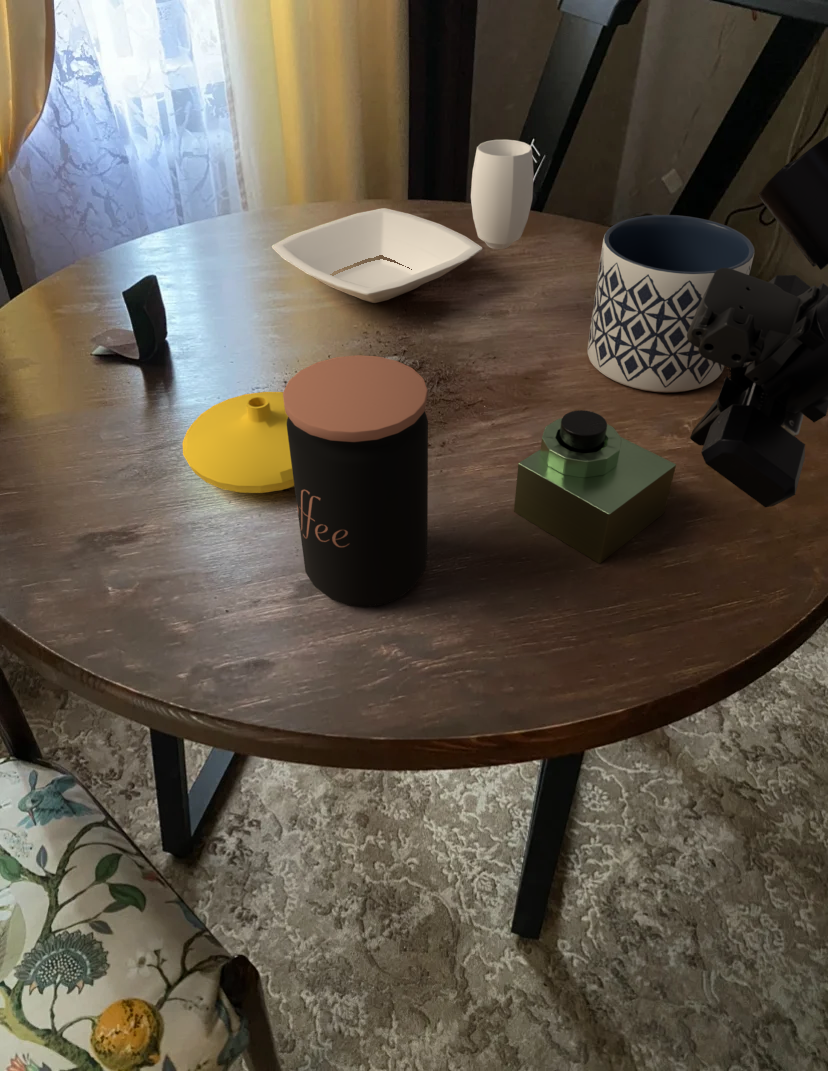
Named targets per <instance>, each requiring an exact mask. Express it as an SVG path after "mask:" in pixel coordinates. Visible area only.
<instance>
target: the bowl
mask: <svg viewBox="0 0 828 1071" xmlns="http://www.w3.org/2000/svg"><path fill="white" fill-rule="evenodd" d="M271 247H272V249H273V250H274V251H275V252H276V253H277V254H278V255H279V257H281V258H282V259H283V260H285V261H286V262H288V263H289V264H291V265H292V266H293V267H296V268H297V269H299V270H300V271H302V272H303V273H305V274H307V275H308V276H310V277H312V278H314V279H315V280H317V281H318V282H321V283H322V284H324V285H326V286H327V287H330V288H332V289H335V290H338V291H339V292H342V293H344V294H347V295H349V296H352V297H355V298H358V299H360V300H362V301H366V302H369V303H372V304H376V303H381V302H386V301H389V300H392V299H395V298H396V297H399V296H401V295H403V294H407V293H408V292H411V291H414V290H415V289H418V288H419V287H420V286H422V285H424V284H427V283H429V282H432V281H433V280H437V279H438V278H441V277H442V276H444V275H446V274H447V273H449V272H451V271H453V270H454V269H456V268H457V267H459V266H460V265H462V264H464V263H465V262H467V261H468V260H470V259H471V258H473V257H474V256H475V255H478V253H480V252H481V251H483V247H482V246H481V245H479V244H478V243H476V242H475V241H473V240H472V239H470V238H469V237H467V236H466V235H464V234H462V233H459V232H457V231H456V230H453V229H451V228H450V227H447V226H445V225H443V224H442V223H441V224H440V223H438V222H435V221H432V220H429V219H426V218H423V217H421V216H417V215H414V214H411V213H407V212H403V211H399V210H394V209H390V208H386V207H382V208H377V209H372V210H367V211H361V212H357V213H354V214H351V215H348V216H347V215H346V216H344V217H340V218H338V219H335V220H332V221H329V222H326V223H322V224H320V225H316V226H314V227H310V228H308V229H305V230H302V231H299V232H297V233H293V234H291V235H289V236H287V237H285V238H283V239H282V240H279V241H277V242H276V243H274V244H273V245H271ZM379 255H383V256H384V257H387V258H390V259H392V260H395V261H396V262H398V263H400V264H402V265H404V266H402V265H399V264H397V263H394V262H390V261H387V260H383V259H380V260H375V261H371V262H367V263H364V264H361V265H359V266H356V267H353V268H351V269H348V270H345V271H343V272H340V273H338V274H336V275H334V276H332V275H330V274H332V273H333V272H334V271H337V270H339V269H342V268H344V267H347V266H350V265H353V264H354V263H357V262H360V261H362V260H365V259H368V258H374V257H376V256H379ZM405 266H406V267H405ZM407 267H409V268H410V269H409V268H407ZM411 269H412V270H411Z"/></svg>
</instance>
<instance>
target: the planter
mask: <svg viewBox="0 0 828 1071" xmlns="http://www.w3.org/2000/svg"><path fill="white" fill-rule="evenodd" d="M601 246H602V247H601V253H600V258H599V266H598V271H597V277H596V278H597V279H596V286H595V291H594V292H595V294H594V299H593V306H592V312H591V321H590V327H589V335H588V340H587V356H588V359H589V362H590V363H591V364H592V365H593V367H594V368H595V369H596V370H597V371H599V372H600V373H601V374H602V375H604V376H605V377H607V378H608V379H610V380H612V381H614V382H616V383H618V384H621V385H623V386H626V387H629V388H632V389H636V390H641V391H645V392H646V391H647V392H652V393H653V392H654V393H680V392H688V391H693V390H697V389H700V388H703V387H706V386H707V385H709V384H712V383H713V382H714V381H715V380H717V379H718V378H719V377H720V376H721V374H722V373H723V371H724V369H725V366H724V365H721V364H719V363H716V362H713V361H711V360H708V359H706V358H703V357H702V356H701V355H700V353H699V351H698V349H699V348H698V347H695V346H694V345H692V344H691V343H690V342H689V340H688V338H687V332H688V330H689V328H690V325H691V323H692V321H693V318H694V316H695V313H696V310H697V308H698V306H699V304H700V302H701V300H702V298H703V296H704V294H705V292H706V290H707V287H708V285H709V283H710V281H711V279H712V277H713V275H714V273H715V272H716V270H718V269H720V268H730V269H733V270H736V271H739V272H742V273H744V274H747V275H750V273H751V269H752V264H753V261H754V257H755V247H754V245H753V243H752V241H751V240H750V239H749V238H748V237H747V236H746V235H744V234H743V233H742V232H740V231H739V230H736V229H734V228H732V227H730V226H728V225H726V224H722V223H720V222H717V221H712V220H709V219H704V218H699V217H694V216H688V215H687V216H686V215H677V214H652V215H650V214H649V215H642V216H641V215H640V216H636V217H632V218H627V219H624V220H621V221H618V222H617V223H615V224H613V225H612V226H611V227H609V228H608V229H607V230H606V232H605V233H604V236H603V240H602V245H601Z"/></svg>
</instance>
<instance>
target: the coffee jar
mask: <svg viewBox="0 0 828 1071" xmlns="http://www.w3.org/2000/svg"><path fill="white" fill-rule="evenodd" d="M282 392H283V399H284V407H285V411H286V414H287V416H288V419H287V432H288V440H289V448H290V456H291V464H292V471H293V479H294V486H293V488H294V493H295V502H296V510H297V516H298V524H299V533H300V539H301V540H300V541H301V548H302V557H303V564H304V571H305V574H306V575H307V577H308V579H309V580H310V582H311V583H312V585H313V586H314V588H315V589H317V590H319V592H321V593H322V594H323V595H325V596H326V597H328V598H330V599H331V600H332V601H335V602H337V603H341V604H343V605H345V606H351V607H359V608H360V607H361V608H368V607H375V606H383V605H386V604H388V603H391V602H394V601H395V600H398V599H400V598H401V597H402V596H404V595H405V594H406V593H408V592H409V591H411V589H412V588H413V587H415V586H416V584H417V583H418V581H419V580H420V579H421V577H422V575H423V574H424V572H425V571H426V566H427V562H428V541H429V540H428V535H429V534H428V533H429V532H428V531H429V530H428V527H429V526H428V518H429V517H428V514H429V513H428V512H429V509H428V508H429V505H428V502H429V501H428V500H429V497H428V496H429V495H428V494H429V419H428V417H427V413H426V406H427V402H428V394H429V391H428V386H427V385H426V382H425V379H424V377H423V376H421V375H420V374H419V373H418V372H417V371H416V370H415V369H414V368H413V367H411V366H408V365H407V364H404V363H402V362H400V361H399V360H395V359H390V358H386V357H382V356H376V355H375V356H374V355H363V354H362V355H360V354H355V355H345V356H336V357H333V358H328V359H325V360H321V361H317V362H315V363H313V364H311V365H308V366H307V367H305V368H303V369H300V370H299V371H298V372H297V373H295V375H294V376H292V377H291V378H290V379H289V380H288V381H287V384H286V386H285V388H284V390H283V391H282Z"/></svg>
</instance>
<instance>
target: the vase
mask: <svg viewBox="0 0 828 1071" xmlns="http://www.w3.org/2000/svg"><path fill="white" fill-rule="evenodd" d="M283 392H284V391H259V392H252V393H245V394H242V395H237V396H233V397H231V398H227V399H225V400H223V401H221V402H219V403H216V404H214V405H212V406H211V407H209V408H208V409H206V410H204V411H203V412H202V413H201V414H200V415H198V416H197V417H196V419H195V420H194V421H193V422H192V423H191V424H190V426H189V428H188V429H187V430H186V433H185V435H184V438H183V440H182V442H181V443H182V445H181V446H182V455H183V457H184V459H185V460H186V462H187V464H188V465H189V468H190V469H191V470H192V472H193V473H194V474H195V475H196V476H197V477H199V479H201V480H202V481H204V482H205V483H206V484H209V485H211V486H214V487H216V488H218V489H220V490H225V491H230V492H235V493H241V494H263V493H272V492H277V491H284V490H287V489H290V488H294V479H293V471H292V464H291V456H290V448H289V440H288V432H287V419H288V416H287V414H286V411H285V407H284V399H283Z"/></svg>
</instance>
